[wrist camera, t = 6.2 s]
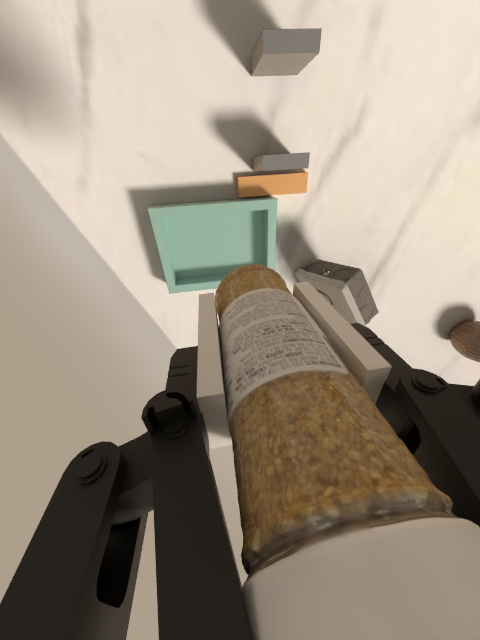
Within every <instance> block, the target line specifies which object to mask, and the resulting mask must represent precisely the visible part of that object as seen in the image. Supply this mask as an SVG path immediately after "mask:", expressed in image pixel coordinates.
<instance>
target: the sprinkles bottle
mask: <svg viewBox="0 0 480 640" xmlns="http://www.w3.org/2000/svg"><path fill="white" fill-rule="evenodd" d="M215 306H216V311H217V313H218V316H219V322H220V324H219V339H220V350H221V359H222V369H223V379H224V388H225V398H226V409H227V422H228V430H229V434H230V436H231V438H232V445H233V452H234V466H235V472H236V482H237V489H238V502H239V508H240V518H241V527H242V531H243V537H244V538H243V548H242V553H241V558H242V564H243V566H244V569H245V571H246V573H247V574H248V578H247V580H246V582H245V583H244V585H243V586H242V588H241V592H242V596H243V600H244V605H245V609H246V613H247V617H248V622H249V626H250V630H251V634H252V638H253V640H480V527H479V526H478V525H476V524H475V523H473V522H471V521H469V520H466V519H462V518H459V517H457V516H455V515H454V514H453V513H452V511H451V508H452V500H451V498H450V497H449V496H448V495H446V494H445V493H443V492H441V491H440V490H438V489H437V488H436V487H435V486H434V485H433V484H432V483H431V481H430V479H429V477H428V475H427V474H426V472H425V471H424V470H423V468H422V467H421V466H420V465H419V464H418V462H417V461H416V459H415V457H414V456H413V455H412V454H411V452H410V451H409V450H408V448H407V447H406V445H405V443H404V442H403V441H402V440H401V439H399V438H398V437H397V435H396V433H395V431H394V430H393V429H392V427H391V426H390V425H389V423H388V422H387V421H386V419H385V418H384V417H383V415H382V414H381V413H380V412H379V410H378V409H377V407H376V406H375V405H374V403H373V402H372V400H371V398H370V397H369V396H368V394H367V392H366V391H365V389H364V388H363V387H362V386H360V383H359V381H358V380H357V379H356V378H355V376H354V375H353V374H352V373H351V372H350V371H349V369H348V368H347V366H346V365H345V363H344V362H343V360H342V359H341V358H340V356H339V355H338V354H337V352H336V351H335V350H334V348H333V346H332V345H331V344H330V341H329V339H328V338H327V337H326V335H325V334H324V333H323V331H322V330H321V329H320V328H319V326H318V325H317V324H316V322H315V321H314V320H313V318H312V317H311V316H310V315H309V313H308V312H307V311H306V309H305V308H304V307H303V305H302V304H301V303H300V302H299V300H298V299H296V298H295V297H294V296H293V295H292V294H291V292H290V291H289V290H288V288H287V286H286V283H285V281H284V279H283V278H282V277H281V276H280V275H279V274H278V273H277V272H275V271H274V270H273V269H271V268H268V267H266V266H263V265H260V264H255V265H245V266H241V267H238V268H236V269H235V270H233V271H231V272H229V273H228V274H227V275H226V276H225V277H224V278H223V280H222V281H221V283H220V284H219V286H218V289H217V291H216V295H215Z"/></svg>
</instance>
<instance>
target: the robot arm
mask: <svg viewBox="0 0 480 640" xmlns="http://www.w3.org/2000/svg"><path fill="white" fill-rule="evenodd" d="M293 296H294V297H295V298H296V299H298V300H299V302H300V303H301V304H302V305H303V307H304V308H305V309H306V311H307V312H308V313H309V315H310V316H311V317H312V318H313V320H314V321H315V322H316V324H317V325H318V326H319V328H320V329H321V330H322V331H323V333H324V334H325V335H326V337H327V338H328V339H329V341H330V344H331V345H332V346H333V348H334V350H335V351H336V352H337V354H338V355H339V356H340V358H341V359H342V360H343V362H344V363H345V365H346V366H347V368H348V369H349V371H350V372H351V373H352V374H353V375H354V376H355V378H356V379H357V380H358V381H359V383H360V386H362V387H363V388H364V389H365V391H366V392H367V394H368V396H369V397H370V398H371V400H372V402H373V403H374V405H375V406H376V407H377V409H378V410H379V412H380V413H381V414H382V415H383V417H384V418H385V419H386V421H387V422H388V423H389V425H390V426H391V427H392V429H393V430H394V431H395V433H396V435H397V437H398V438H399V439H401V440H402V441H403V442H404V443H405V445H406V447H407V448H408V450H409V451H410V452H411V454H412V455H413V456H414V457H415V459H416V461H417V462H418V464H419V465H420V466H421V467H422V468H423V470H424V471H425V472H426V474H427V475H428V477H429V479H430V481H431V483H432V484H433V485H434V486H435V487H436V488H437V489H438V490H440V491H441V492H443V493H445V494H446V495H448V496H449V497H450V498H451V500H452V508H451V511H452V513H453V514H454V515H455V516H457V517H459V518H462V519H466V520H469V521H471V522H473V523H475V524H476V525H478V526H479V527H480V379H479V381H478V382H477V383H476V385H475V386H467V385H457V384H448V383H447V382H446V381H445V380H443V379H442V378H441V377H439V376H437V375H435V374H433V373H431V372H428V371H425V370H420V369H413V368H412V367H410V366H409V365H408V364H407V363H406V362H405V361H404V360H403V359H402V358H401V357H400V356H398V355H397V354H396V353H395V352H394V351H393V350H392V349H391V348H390V347H389V346H388V345H387V344H384V342H383V341H382V340H381V339H380V338H378V337H377V335H376V334H375V333H373V332H372V331H371V330H370V329H369V328H367V327H365V326H363V325H361V324H359V323H352V324H349V323H348V322H347V321H346V320H345V319H344V318H343V317H342V316H341V315H340V314H339V313H338V312H337V311H336V310H335V309H334V308H333V307H332V305H331V304H330V303H329V302H328V301H327V300H326V299H325V298H324V297H323V296H322V295H321V294H320V293H319V292H318V291H317V290H316V289H315V288H314V287H313V286H312V285H311V284H310V283H309V282H308V281H305V282H297V283H294V289H293ZM141 418H142V420H143V422H144V424H145V426H146V428H147V430H148V431H147V432H146V433H145V434H143V435H141V436H140V437H138V438H136V439H134V440H131V441H129V442H127V443H125V444H123V445H121V446H119V447H118V446H117V445H115V444H113V443H112V442H99V443H96V444H93V445H91V446H89V447H88V448H86V449H84V450H83V451H81V452H80V453H79V454H78V455H77V456H76V457H75V458H74V459H73V460H72V461H71V462H70V464H69V465H68V467H67V468H66V470H65V472H64V473H63V475H62V477H61V480H60V481H59V483H58V486H57V488H56V490H55V492H54V494H53V496H52V498H51V500H50V502H49V504H48V506H47V508H46V510H45V512H44V515H43V517H42V519H41V521H40V523H39V525H38V527H37V529H36V531H35V533H34V535H33V538H32V539H31V541H30V543H29V545H28V548H27V550H26V552H25V554H24V556H23V558H22V560H21V562H20V564H19V566H18V568H17V570H16V573H15V575H14V576H13V579H12V581H11V583H10V585H9V587H8V589H7V591H6V593H5V595H4V597H3V599H2V601H1V604H0V640H126V636H127V630H128V624H129V619H130V613H131V607H132V602H133V596H134V590H135V584H136V579H137V573H138V568H139V562H140V556H141V551H142V545H143V539H144V533H145V528H146V522H147V516H148V512H150V511H151V510H153V509H154V528H155V553H156V577H157V600H158V601H157V602H158V624H159V625H158V626H159V640H253V638H252V634H251V630H250V626H249V622H248V617H247V613H246V609H245V605H244V600H243V596H242V592H241V588H242V585H241V581H240V577H239V573H238V569H237V565H236V562H235V557H234V553H233V550H232V545H231V542H230V537H229V534H228V529H227V525H226V521H225V518H224V513H223V510H222V505H221V501H220V497H219V494H218V490H217V486H216V482H215V477H214V473H213V469H212V465H211V462H210V458H209V446H210V449H212V448H218V447H224V446H229V445H232V441H231V436H230V434H229V430H228V422H227V409H226V398H225V388H224V379H223V369H222V359H221V350H220V339H219V326H218V319H217V312H216V306H215V299H214V293H208V294H200V295H199V321H198V346H195V347H188V348H181V349H177V350H176V352H175V353H174V354H173V356H172V357H171V361H170V366H169V372H168V379H167V384H166V390H164V391H162V392H160V393H158V394H156V395H155V396H154V397H153V398H151V399H150V400H149V401H148V403H147V404H146V406H145V407H144V409H143V413H142V417H141Z"/></svg>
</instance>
